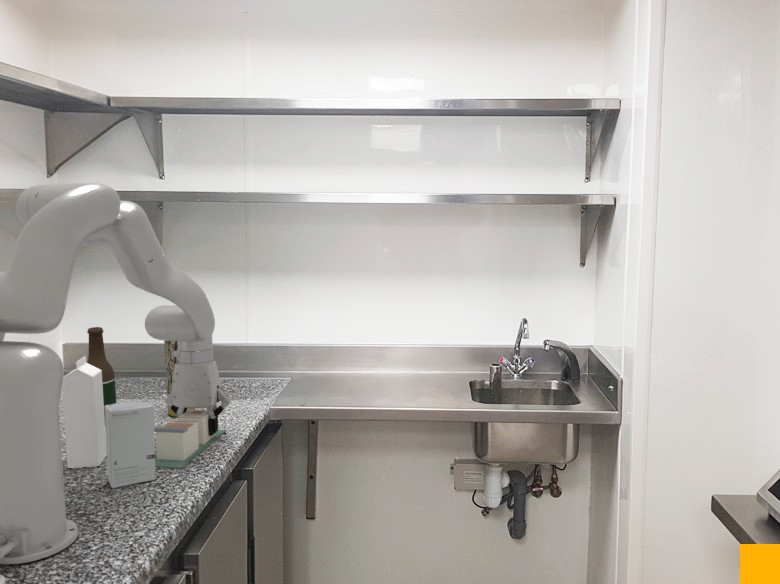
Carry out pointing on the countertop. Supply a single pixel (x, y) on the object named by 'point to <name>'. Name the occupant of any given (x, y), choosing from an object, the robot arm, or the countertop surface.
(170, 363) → the paper tube
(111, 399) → the beer bottle
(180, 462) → the mat
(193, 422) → the lidded cream box
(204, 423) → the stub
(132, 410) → the skincare box
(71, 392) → the milk
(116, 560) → the countertop surface
